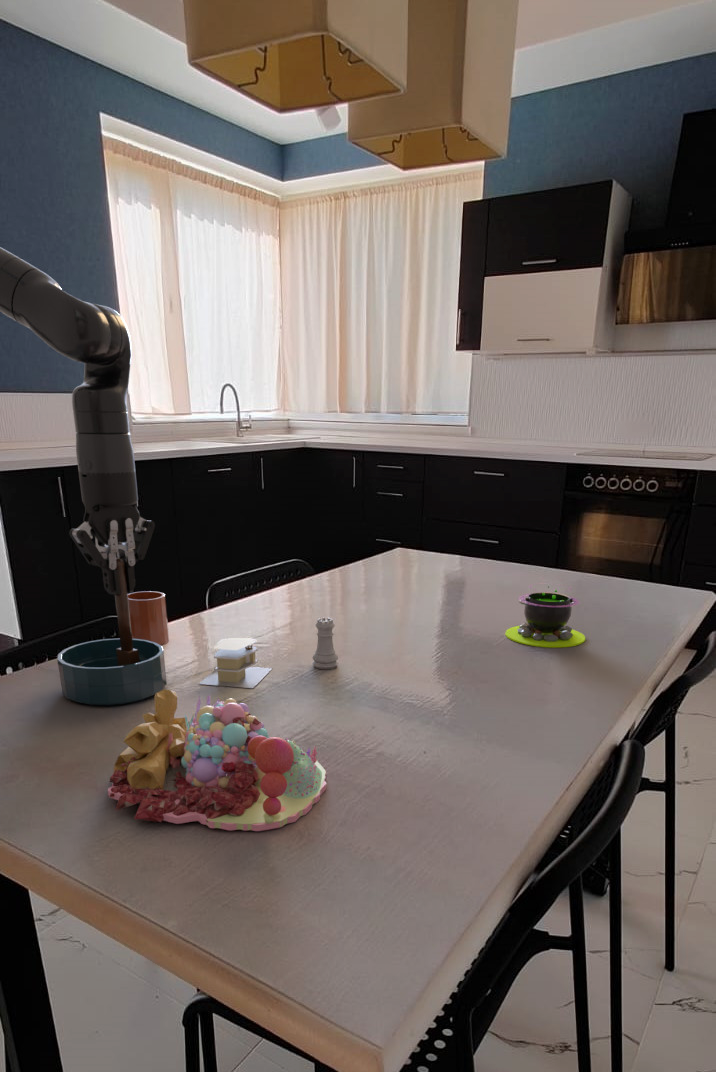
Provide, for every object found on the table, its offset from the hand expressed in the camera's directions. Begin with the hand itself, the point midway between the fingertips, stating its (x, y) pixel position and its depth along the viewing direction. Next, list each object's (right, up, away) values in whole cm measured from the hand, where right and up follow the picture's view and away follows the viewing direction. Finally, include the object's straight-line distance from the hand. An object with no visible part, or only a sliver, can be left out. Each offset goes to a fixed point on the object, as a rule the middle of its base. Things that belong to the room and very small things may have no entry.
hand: (120, 592), depth 113 cm
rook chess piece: (+29, -9, +17) cm, 35 cm away
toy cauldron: (+71, -2, +35) cm, 79 cm away
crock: (-3, -4, +27) cm, 28 cm away
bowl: (-2, -14, +5) cm, 15 cm away
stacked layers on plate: (+15, -12, +12) cm, 22 cm away
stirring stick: (0, -12, +5) cm, 13 cm away
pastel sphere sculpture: (+19, -26, -22) cm, 39 cm away
